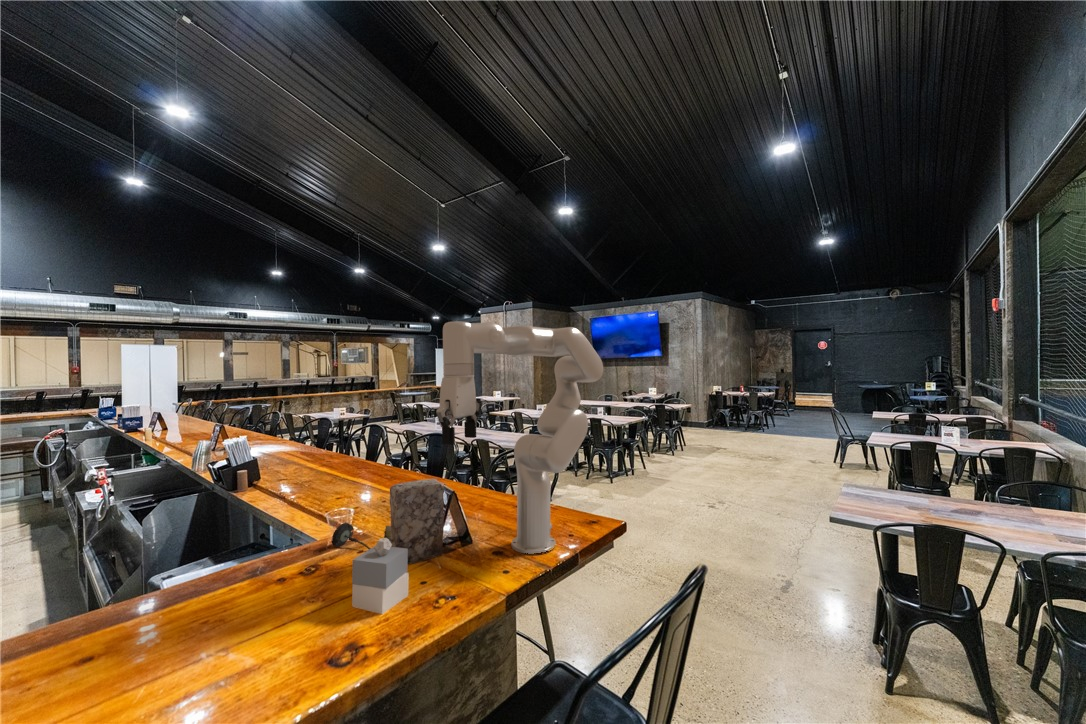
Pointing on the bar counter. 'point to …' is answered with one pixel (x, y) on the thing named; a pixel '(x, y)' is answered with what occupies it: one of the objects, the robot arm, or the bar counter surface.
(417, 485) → the stone block
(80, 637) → the bar counter surface
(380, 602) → the lower block
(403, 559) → the upper block
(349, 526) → the artificial flower
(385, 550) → the game die
